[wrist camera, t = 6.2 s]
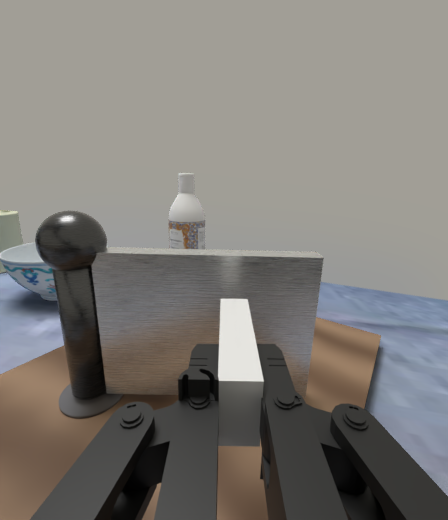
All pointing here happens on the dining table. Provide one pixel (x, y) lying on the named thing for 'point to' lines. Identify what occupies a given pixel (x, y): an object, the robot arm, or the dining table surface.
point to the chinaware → (29, 270)
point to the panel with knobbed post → (168, 305)
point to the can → (9, 232)
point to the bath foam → (186, 217)
